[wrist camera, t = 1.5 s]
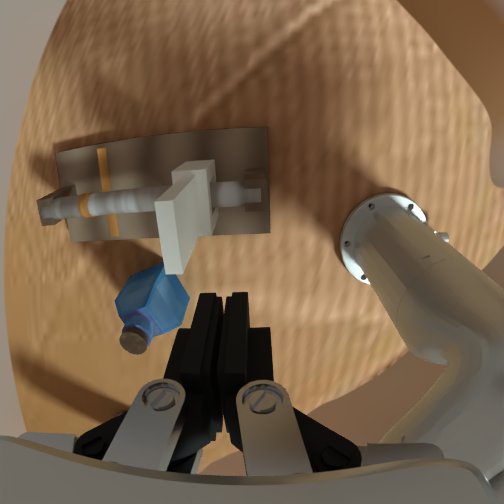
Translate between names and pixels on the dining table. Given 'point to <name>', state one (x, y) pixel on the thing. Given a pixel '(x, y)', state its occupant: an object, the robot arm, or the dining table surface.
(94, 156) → the pipe stand
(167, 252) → the white l-shaped bracket
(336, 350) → the dining table surface
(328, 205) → the dining table surface
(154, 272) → the perfume bottle
